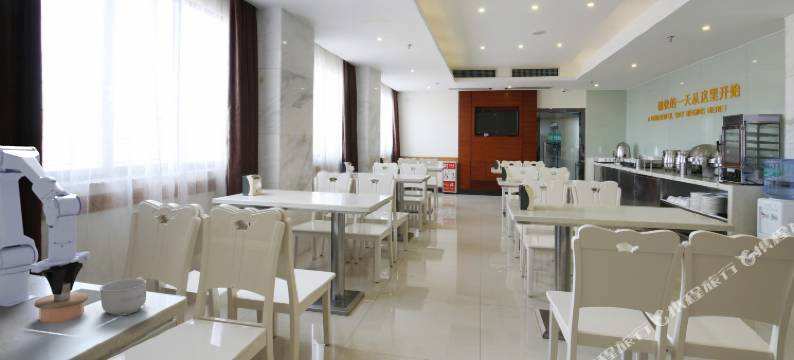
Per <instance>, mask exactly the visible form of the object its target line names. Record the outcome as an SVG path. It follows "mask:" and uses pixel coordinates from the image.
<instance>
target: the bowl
mask: <svg viewBox="0 0 794 360" xmlns="http://www.w3.org/2000/svg"><path fill="white" fill-rule="evenodd" d="M84 312H85V306H84V302H83V303H80V304H77V305H74V306H70V307H64V308H57V309H41V308H38V319H39V321H40V322H42V323H61V322H66V321H70V320H73V319H77V318H79V317H81V316H82V315H83V314H84Z"/></svg>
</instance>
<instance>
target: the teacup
mask: <svg viewBox="0 0 794 360" xmlns="http://www.w3.org/2000/svg"><path fill="white" fill-rule="evenodd" d="M147 283H148V282H147V280H146V279H145V278H144V277H142V276H139V277H136V278H125V279H119V280H118V279H117V280H114V281H111V282H107V283H105V284H103V285H101V286H100V287H99V291H101V300H100V301H101V303H100V304H101V307H102V310H103V311H104V312H106V313H108V314H110V315H112V316H113V315H114V316H126V315H130V314H133V313H136V312H137V311H139V310H140V308H141V307H143V306H144V305H145V303H146V300H147Z"/></svg>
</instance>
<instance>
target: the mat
mask: <svg viewBox="0 0 794 360" xmlns="http://www.w3.org/2000/svg"><path fill="white" fill-rule="evenodd" d="M72 292H81V293H86V294H87V295H88V299H87V300H86V301H85V302H84V307H85V306H89V305H91V304H94V303H96V302H98V301H101V291H100V290H96V289H95V290H94V289H88V288H87V289H86V288H79V289H76V290H72Z"/></svg>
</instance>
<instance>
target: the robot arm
mask: <svg viewBox="0 0 794 360" xmlns="http://www.w3.org/2000/svg"><path fill="white" fill-rule="evenodd" d="M40 157H41V156H40V153H39V151H38V150H37V148H36V147H34V146H10V145H6V146H5V145H4V146H3V145H0V306H2V307H12V306H13V307H14V306H15V305H18V304H21V303H25V302H28V301H31V300H34V299H37V298H39V297H38V295H32V294H31V295H30V272H31V273H37V274H38V273H41V274H42V275H43V276H44V277H45V279H46V280H47V282H48V285H49V286H50V289H51V293H52V294H51V295H53V294H56V295H60V294H61V293H62V289H63V282H64V283H70V292H73V287H74V284H75V282H76V279H77V276H78V274H79V273H80V271H81V270H82V269H83V267H84V264H83V262H81V261H84V260H86V261H87V260H90V259H91V251H81V252H77V230H78V228H77V223H78V218H77V217H79V215H81V214H82V211H83V202H82V200H81V198H80V196H79V195H78V194H74V193H72V192H68V191H67V190H66V188H65V187H64V186H63V185H62V184H61V182H59V180H58V179H57V178H55V177H53V176H49V175H48V174H47V172H46V171H45V170H44V168H43V166H42V165H41V164H40V161H41V160H40ZM22 177H26V178H27V179H28V180H29V181H30V182H31V183H32V186H31V190H32V192H33V193H34V195H36V196H37V198H38V199H39V200H40V201H41V203H42V204H43V206H42V211H43V214H44V217H45V223H46V225H48V244H47V246H48V248H47V249H48V255H47V257H48V258H45V259H42V260H41V261H38V259H39V253H38V252H39V251H38V249H37V247H36V243H35V240H34V239H33V238H31V237H29V236H26V235H24V227H23V218H22V209H21V208H22V207H21V197H20V187H19V180H20V179H21V178H22Z"/></svg>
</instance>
